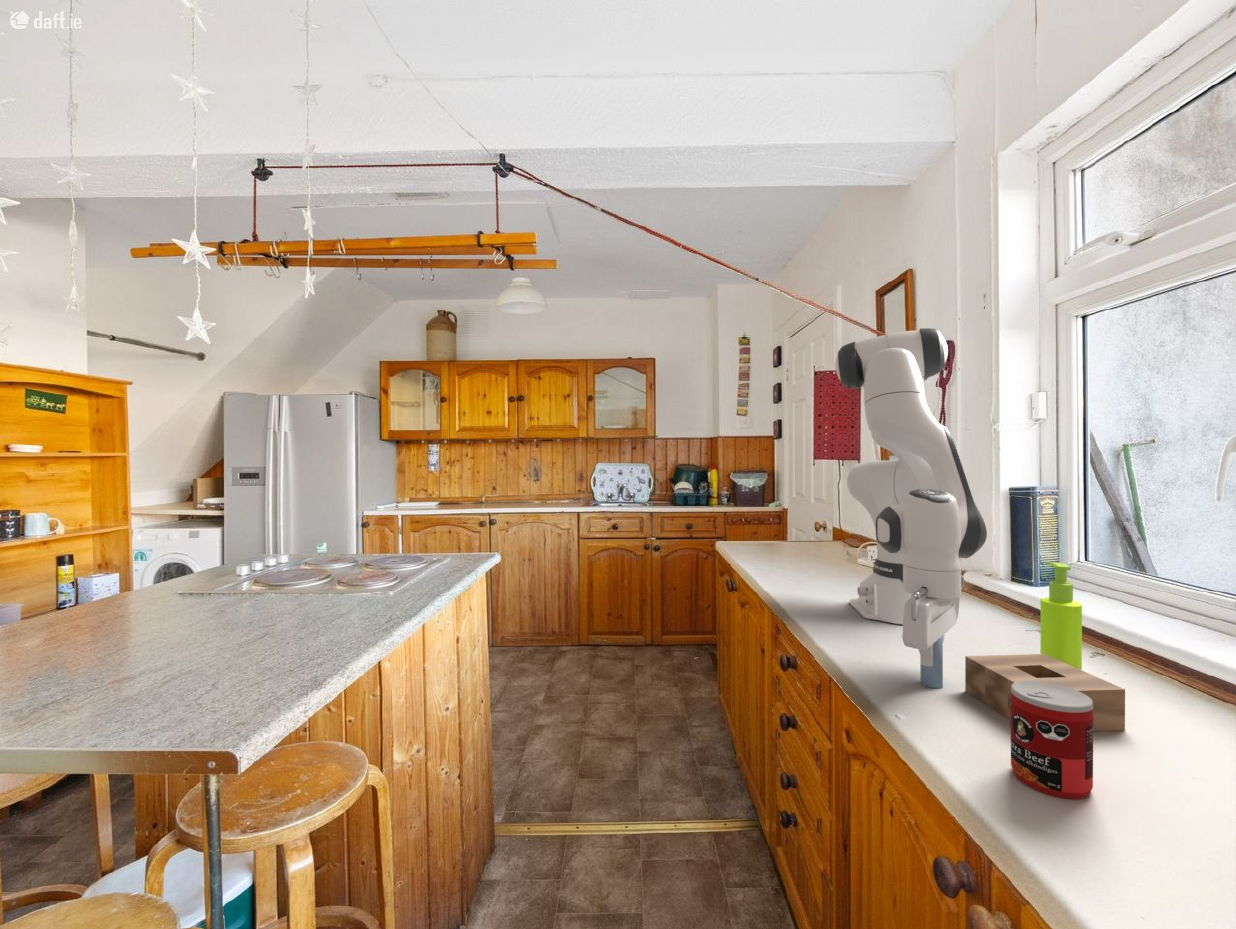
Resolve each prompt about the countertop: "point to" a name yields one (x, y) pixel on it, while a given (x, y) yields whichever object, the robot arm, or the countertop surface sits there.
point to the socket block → (999, 672)
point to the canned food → (1052, 738)
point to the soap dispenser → (1061, 620)
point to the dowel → (934, 668)
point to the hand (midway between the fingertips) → (931, 661)
